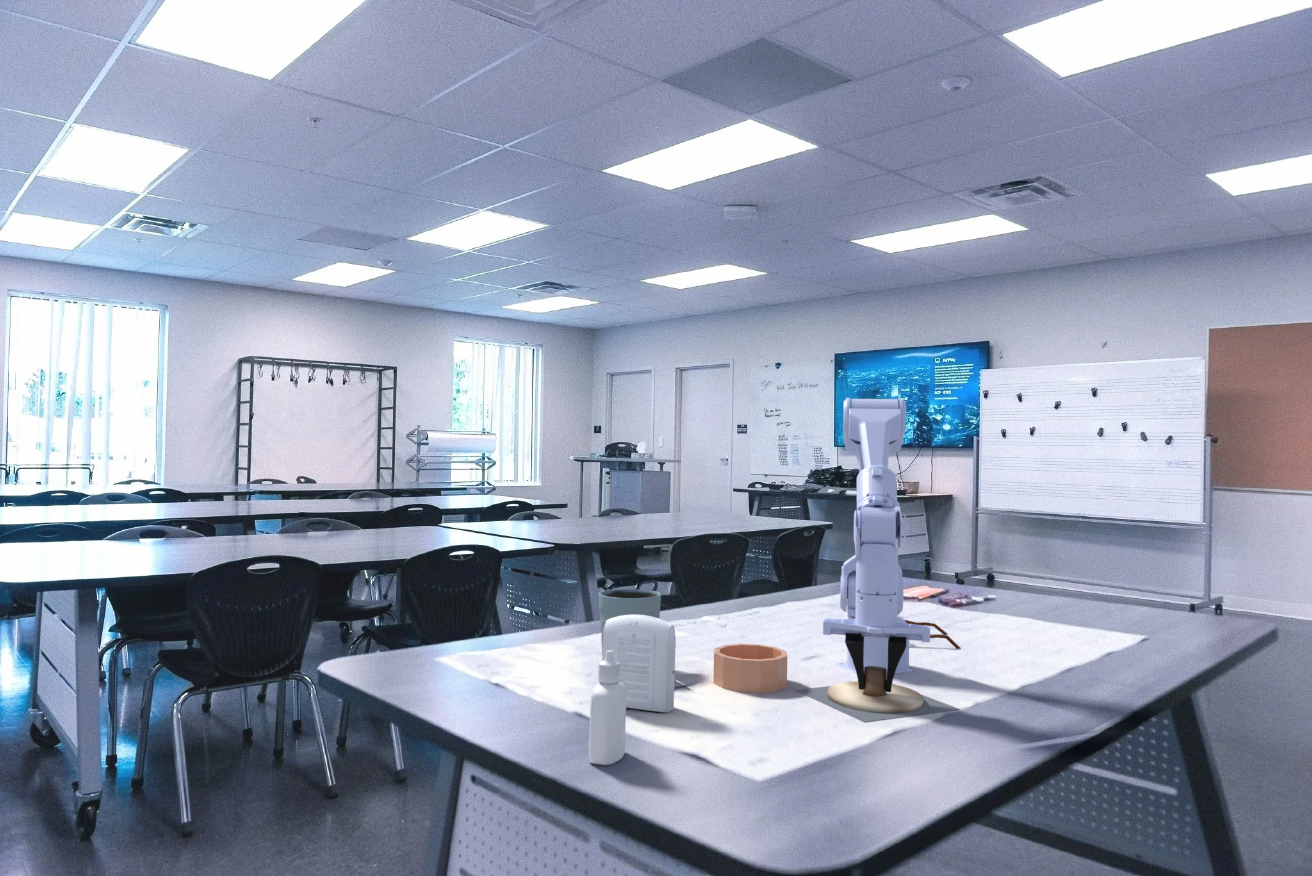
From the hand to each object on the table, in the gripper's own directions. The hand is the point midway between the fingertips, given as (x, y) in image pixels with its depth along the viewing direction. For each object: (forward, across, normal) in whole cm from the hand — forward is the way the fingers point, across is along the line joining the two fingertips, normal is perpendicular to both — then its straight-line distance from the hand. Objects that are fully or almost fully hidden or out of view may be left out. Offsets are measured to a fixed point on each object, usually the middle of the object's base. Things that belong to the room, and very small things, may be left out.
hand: (874, 689), depth 122 cm
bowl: (+2, -18, +3) cm, 19 cm away
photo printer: (+2, -31, -13) cm, 34 cm away
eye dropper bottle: (+2, -28, -33) cm, 44 cm away
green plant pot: (+2, -38, +7) cm, 39 cm away
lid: (+1, 0, 0) cm, 1 cm away
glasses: (+3, +7, +47) cm, 48 cm away
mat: (+2, 0, 0) cm, 2 cm away
